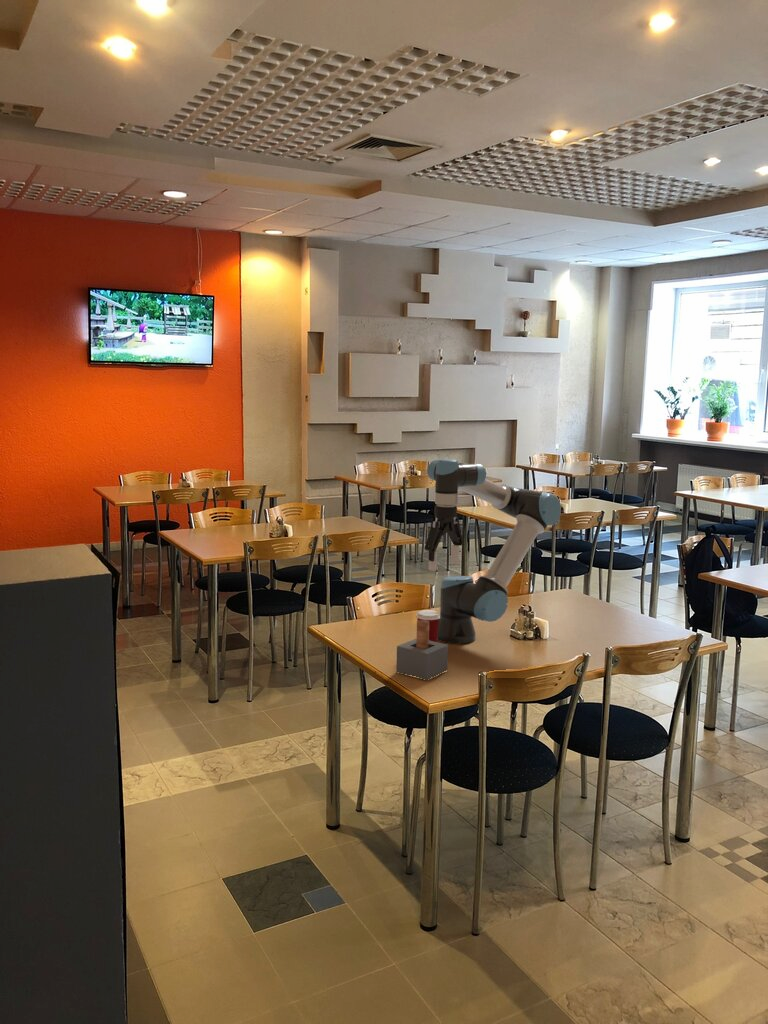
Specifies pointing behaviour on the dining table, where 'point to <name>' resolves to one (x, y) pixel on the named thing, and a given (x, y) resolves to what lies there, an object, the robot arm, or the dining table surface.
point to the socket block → (422, 659)
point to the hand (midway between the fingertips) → (443, 567)
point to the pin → (422, 634)
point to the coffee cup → (430, 622)
